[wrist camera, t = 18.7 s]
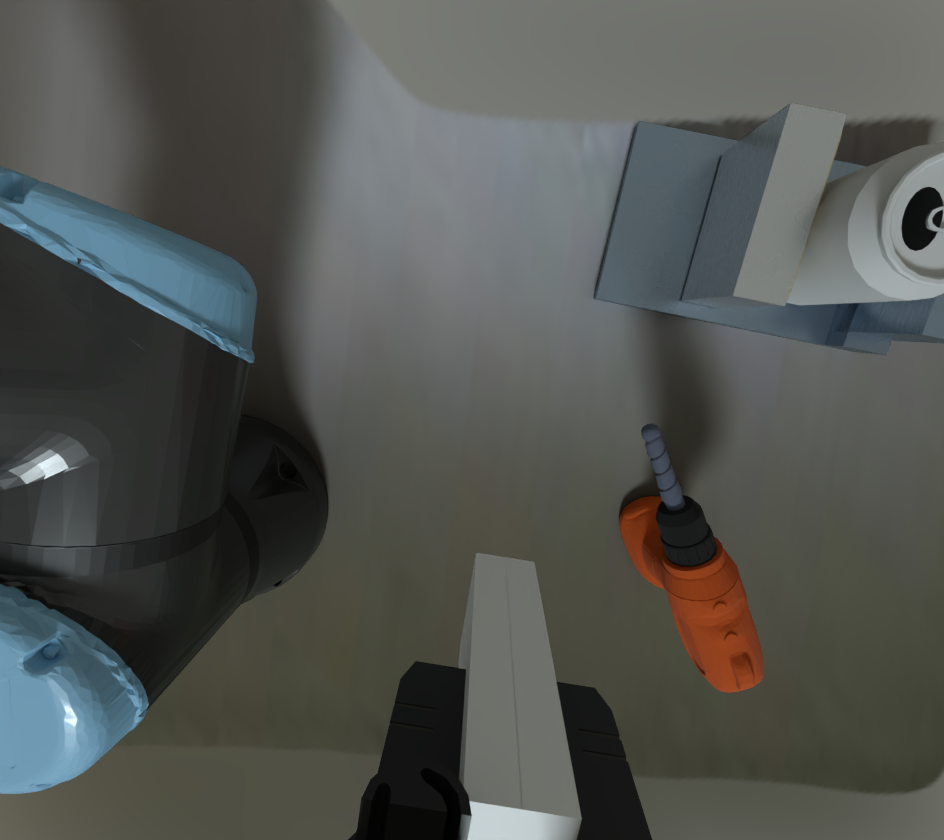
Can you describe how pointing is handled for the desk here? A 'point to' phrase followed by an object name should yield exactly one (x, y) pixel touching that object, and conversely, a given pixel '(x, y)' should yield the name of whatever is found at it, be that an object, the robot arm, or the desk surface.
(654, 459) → the toy drill
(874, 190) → the can
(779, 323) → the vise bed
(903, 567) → the desk surface
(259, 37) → the desk surface
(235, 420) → the robot arm
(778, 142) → the block
